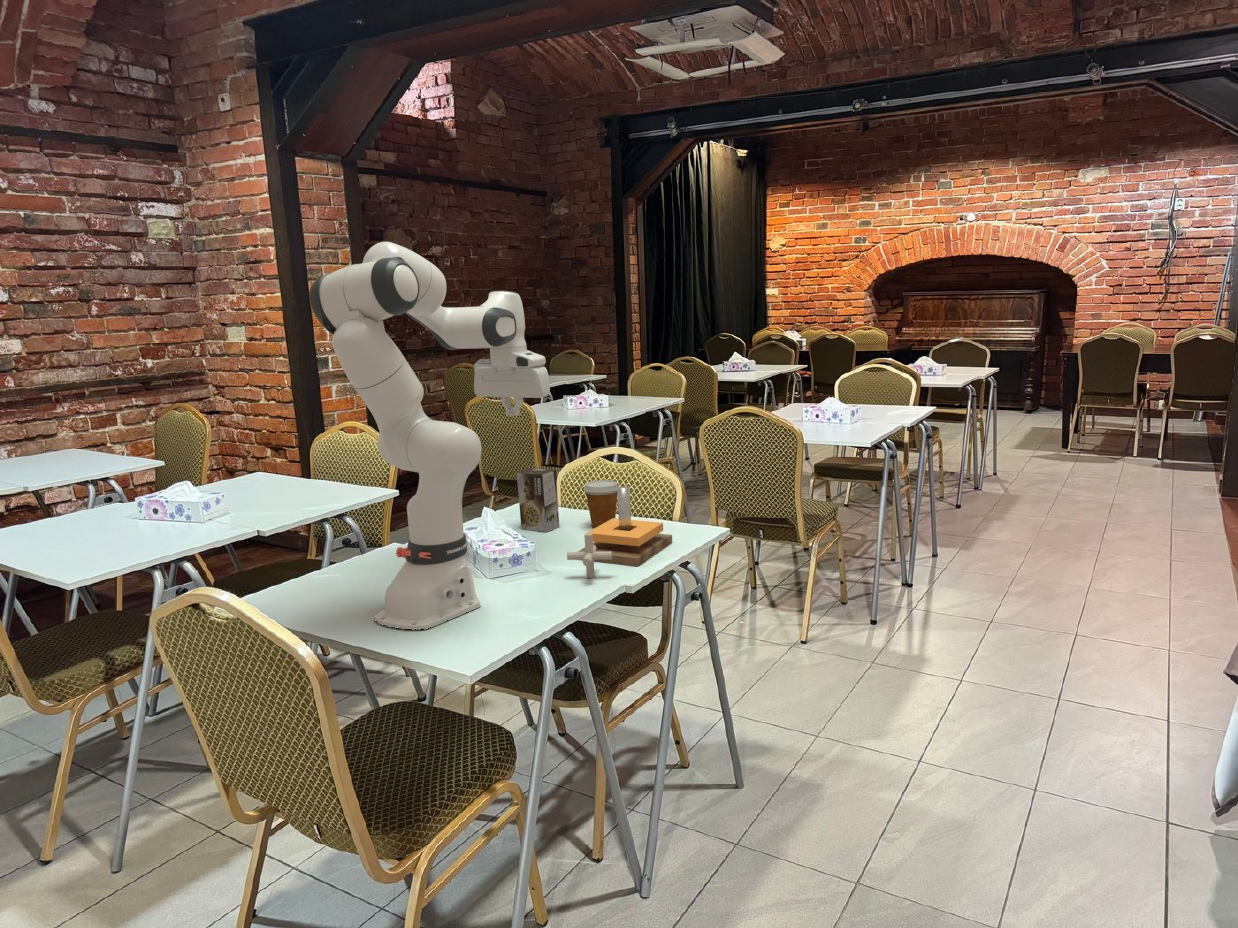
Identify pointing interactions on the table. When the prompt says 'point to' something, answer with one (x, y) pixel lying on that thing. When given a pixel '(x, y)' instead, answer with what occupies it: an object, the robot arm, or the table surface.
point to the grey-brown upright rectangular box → (538, 499)
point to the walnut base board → (633, 550)
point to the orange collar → (626, 532)
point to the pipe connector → (589, 555)
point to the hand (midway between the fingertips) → (513, 415)
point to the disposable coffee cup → (601, 500)
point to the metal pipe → (624, 509)
